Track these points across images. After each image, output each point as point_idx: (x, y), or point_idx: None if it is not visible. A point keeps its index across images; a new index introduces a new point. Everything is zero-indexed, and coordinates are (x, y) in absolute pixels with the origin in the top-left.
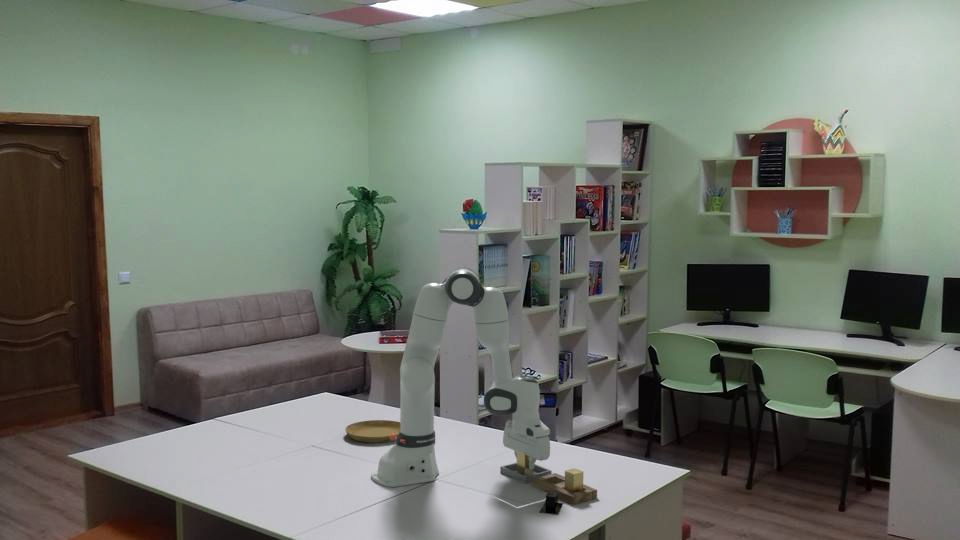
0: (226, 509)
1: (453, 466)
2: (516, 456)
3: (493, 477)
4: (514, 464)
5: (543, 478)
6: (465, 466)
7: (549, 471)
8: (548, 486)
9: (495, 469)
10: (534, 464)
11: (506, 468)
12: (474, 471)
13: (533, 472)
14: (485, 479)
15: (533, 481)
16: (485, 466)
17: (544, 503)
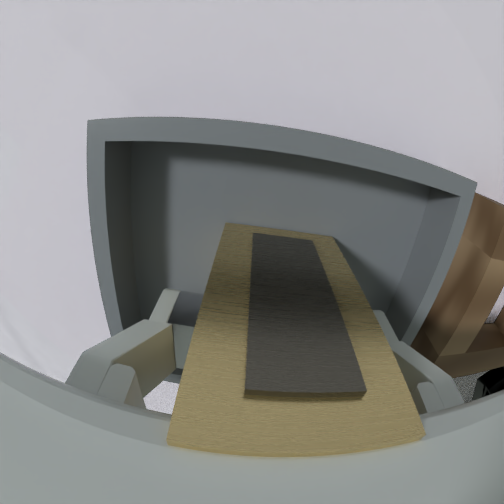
0: None
1: (12, 358)
2: (148, 388)
3: (165, 382)
4: (114, 276)
5: (470, 336)
6: (14, 340)
7: (469, 204)
8: (494, 367)
9: (64, 299)
10: (250, 140)
11: (172, 376)
12: (65, 366)
13: (335, 249)
14: (170, 407)
15: None
16: (21, 296)
17: (475, 387)
